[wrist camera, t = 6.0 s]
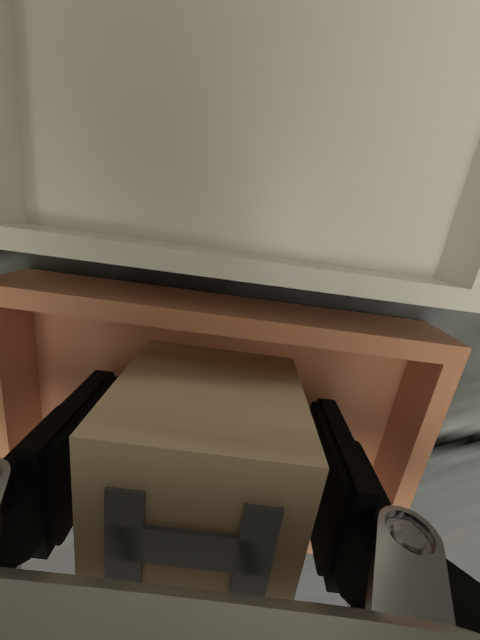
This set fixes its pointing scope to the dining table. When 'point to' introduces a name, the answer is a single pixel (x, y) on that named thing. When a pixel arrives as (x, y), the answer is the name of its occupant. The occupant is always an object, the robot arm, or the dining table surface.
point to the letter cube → (198, 473)
